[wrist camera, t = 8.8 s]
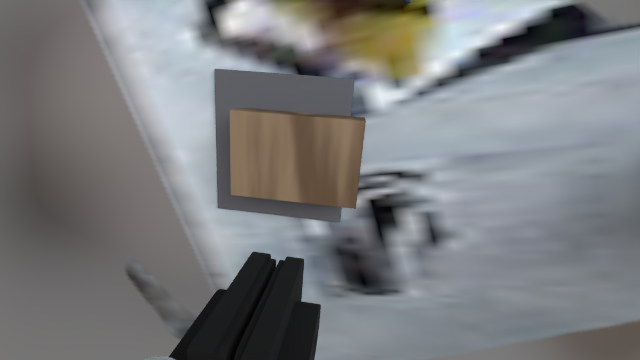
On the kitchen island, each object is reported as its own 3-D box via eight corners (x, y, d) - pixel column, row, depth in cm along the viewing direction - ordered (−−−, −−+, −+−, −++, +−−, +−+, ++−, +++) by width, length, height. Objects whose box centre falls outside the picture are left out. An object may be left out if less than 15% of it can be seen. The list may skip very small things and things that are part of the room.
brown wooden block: (365, 121, 26) (229, 109, 27) (355, 208, 28) (230, 194, 29) (364, 117, 30) (247, 107, 31) (356, 193, 32) (246, 182, 33)
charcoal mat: (354, 79, 30) (354, 78, 29) (340, 220, 34) (339, 222, 33) (216, 69, 31) (214, 68, 30) (219, 206, 35) (217, 207, 35)
